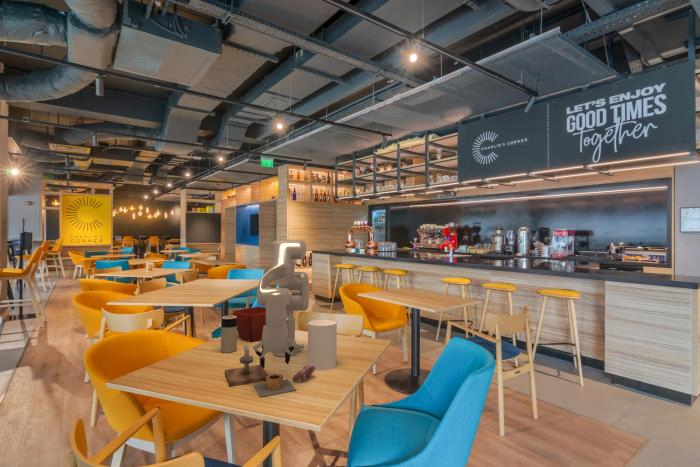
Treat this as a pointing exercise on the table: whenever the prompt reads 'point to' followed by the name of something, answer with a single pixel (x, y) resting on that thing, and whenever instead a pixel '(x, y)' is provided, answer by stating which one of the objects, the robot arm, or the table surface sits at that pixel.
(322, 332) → the canister
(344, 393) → the table surface
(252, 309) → the plant pot
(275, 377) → the wooden ring
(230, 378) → the post stand
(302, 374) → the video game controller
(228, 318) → the travel mug
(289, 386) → the rubber mat
